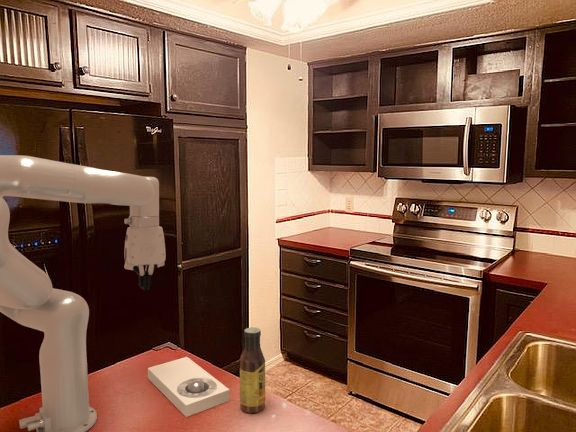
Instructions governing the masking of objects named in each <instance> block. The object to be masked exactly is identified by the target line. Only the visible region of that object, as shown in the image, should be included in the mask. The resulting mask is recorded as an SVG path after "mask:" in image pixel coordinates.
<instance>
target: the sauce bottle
mask: <svg viewBox="0 0 576 432" xmlns="http://www.w3.org/2000/svg"><path fill="white" fill-rule="evenodd" d="M243 330H244V331H243V332H244V333H243V335H244V349H243V351H242V352H241V354H240V358H239V361H240V363H239V366H240V367H239V402H240V409H241V410H242V411H243V412H245V413H250V414H252V413H253V414H254V413H258V412H260V411H262V410H264V408H265V405H266V404H265V402H266V359H265V357H264V354H263V351H262V347H261V329H260V328H258V327H247V328H245V329H243Z"/></svg>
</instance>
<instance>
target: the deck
mask: <svg viewBox="0 0 576 432" xmlns="http://www.w3.org/2000/svg"><path fill="white" fill-rule="evenodd" d="M146 370H147V379H148V380H149V381H150V382H151V383H152V384H153V385H154V386H155V387H156V388H157V389H158V390H159V391H160V392H161V393H162V394H163V395H164V396H165V397H166V398H167V400H169V401H170V402H171V403H172V404H173V405H174V406H175V407H176V409H177V410H179V412H181V413H182V414H183V416H184V417H185V418H187V417H190V416H193V415H196V414H198V413H201V412H203V411H205V410H206V411H207V410H208V409H211V408H215V407H216V406H220V405H222V404H224V403H227V402H229V401H230V398H231V395H230V392H231V391H230V388H228V387H227V386H226V385H224V384H223V383H222V382H221V381H219V380H218V379H217V378H215V377H214V376H213V375H211V374H210V373H209V372H207V371H206V370H205V369H203V368H202V367H201V366H200V365H199V364H197V363H196V362H194V361H193V360H192V359H191V358H189V356H184V357H181V358H179V359H174V360H170V361H167V362H164V363H160V364H156V365H153V366H150V367H148V368H147V369H146ZM196 380H198V381H201V382H202V383H203V384H204V385H205V392H202V393H196V394H192V393H188V391H187V390H188V386H189V384H190V383H191V382H193V381H196Z"/></svg>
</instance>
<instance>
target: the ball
mask: <svg viewBox="0 0 576 432" xmlns="http://www.w3.org/2000/svg"><path fill="white" fill-rule="evenodd" d="M187 391H188V393H192V394H196V393H202V392H205V385H204V384H203V383H202V382H201V381H198V380H196V381H193V382H191V383H190V384H189V386H188V390H187Z"/></svg>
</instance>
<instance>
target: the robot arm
mask: <svg viewBox="0 0 576 432" xmlns="http://www.w3.org/2000/svg"><path fill="white" fill-rule="evenodd" d="M159 188H160V181H159V179H158V178H157V177H155V176H142V175H138V174H132V173H128V172H121V171H114V170H113V171H112V170H107V169H101V168H97V167H92V166H87V165H80V164H74V163H68V162H64V161H57V160H51V159H47V158H41V157H35V156H30V155H15V154H14V155H12V154H9V155H3V154H2V155H1V154H0V313H1V314H3V315H4V316H6V317H7V318H8V319H9V318H10V319H11V320H12V321H14V322H16V323H17V324H19V325H21V326H24V327H27V328H31V329H34V330H37V331H40V332H43V334H44V337H43V340H42V343H41V344H40V345H41V346H40V348H39V355H38V358H39V361H38V362H39V372H40V385H41V400H42V401H41V402H42V406H41V407H39V412H36V413H34V415H33V416H28V417H24V418H22V419H19V420H18V423H19V429H20V430H22V429H25V428H27V431H28V432H31V431H34V430H36V432H87V431H88V430H90V429H91V428H92V427H93V426H94V425H95V424H96V422H97V419H98V414H97V410H95V408H93V407H92V406H90V398H89V396H90V395H89V378H88V375H89V373H88V362H87V361H88V360H87V359H88V358H87V329H88V323H89V319H90V318H89V317H90V308H89V305H88V303H87V301H86V300H85V298H84V297H82V296H81V295H79V294H77V293H75V292H73V291H69V290H63V289H59V288H54V287H53V284H52V280H51V278H50V276H49V275H48V274H47V273H46V272H45V271H44V270H43V269H41V268H40V267H38V266H37V265H36V264H35V263H34V262H32V261H31V260H29V259H28V258H27V257H26V256H24V255H23V253H21V252H19V250H17V248H15V247H14V245H12V244H11V242H10V239H9V226H10V225H9V224H10V219H11V216H10V215H11V212H10V208H9V205H8V203H7V202H6V200H5V198H4V197H18V198H26V199H37V200H45V201H56V202H57V201H58V202H66V203H78V204H109V205H115V206H128V207H129V216H128V218H124V224H125V225H129V227H127V229H126V233H125V234H126V235H125V240H124V253H123V254H124V259H123V260H124V266H123V267H124V269H125V270H130V271H134V272H135V273H136V274H137V275H138V287H139V288H140V289H141V290H143V291H147V290H150V289H151V288H150V287H151V286H152V275H153V273H154V272H155V271H156V269H157V268H160V267H164V266H165V261H166V256H167V255H166V243H165V242H166V241H165V235H164V231H163V230H164V229H163V227H162V226H160V189H159ZM144 266H145V269H144Z"/></svg>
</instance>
